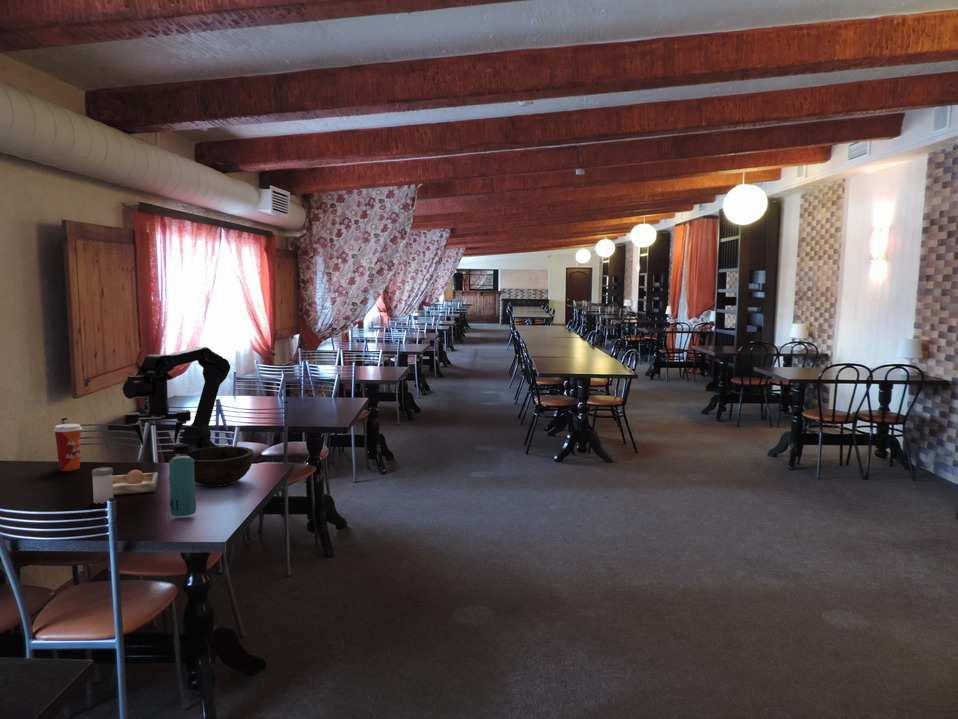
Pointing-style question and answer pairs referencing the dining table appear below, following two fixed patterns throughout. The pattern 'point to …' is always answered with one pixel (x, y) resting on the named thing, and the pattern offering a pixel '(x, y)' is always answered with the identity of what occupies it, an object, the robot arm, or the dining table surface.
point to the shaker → (102, 484)
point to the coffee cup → (68, 446)
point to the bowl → (220, 464)
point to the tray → (125, 488)
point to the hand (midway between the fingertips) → (159, 444)
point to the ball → (135, 477)
